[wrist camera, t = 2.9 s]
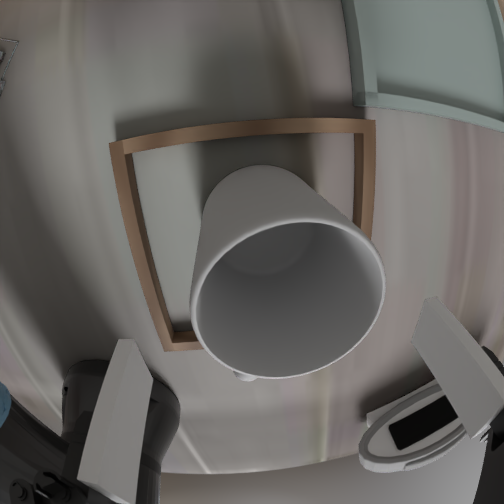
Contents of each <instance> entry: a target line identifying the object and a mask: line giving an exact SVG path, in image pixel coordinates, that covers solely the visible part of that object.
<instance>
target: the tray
mask: <svg viewBox="0 0 504 504" xmlns="http://www.w3.org/2000/svg"><path fill="white" fill-rule="evenodd" d="M341 2H342V7H343V13H344V20H345V26H346V33H347V41H348V49H349V58H350V68H351V79H352V93H353V106H362V107H374V108H384V109H393V110H401V111H408V112H415V113H421V114H427V115H433V116H438V117H443V118H448V119H453V120H457V121H462V122H466V123H470V124H474V125H478V126H481V127H485V128H489V129H492V130H496V131H499V132H502V133H504V22H503V18H502V15H501V11H500V8H499V4H498V1H497V0H341Z"/></svg>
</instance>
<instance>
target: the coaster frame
mask: <svg viewBox="0 0 504 504" xmlns="http://www.w3.org/2000/svg"><path fill="white" fill-rule="evenodd" d="M286 133H354V140H355V180H354V211H353V223H354V224H355V225H356V226H357V227H358V228H360V229H361V230H362V231H363V232H364V233H365V234H366V236H367V237H368V238H369V239H370V240H371V234H372V223H373V210H374V194H375V168H376V125H375V120H367V119H347V118H283V119H263V120H248V121H237V122H226V123H217V124H209V125H201V126H194V127H187V128H181V129H175V130H169V131H163V132H158V133H152V134H147V135H142V136H138V137H133V138H129V139H124V140H120V141H116V142H112V143H109V148H110V154H111V160H112V166H113V172H114V177H115V183H116V188H117V193H118V198H119V202H120V207H121V211H122V216H123V220H124V224H125V228H126V233H127V237H128V240H129V244H130V248H131V252H132V255H133V259H134V263H135V266H136V269H137V273H138V276H139V280H140V283H141V286H142V289H143V292H144V296H145V299H146V302H147V305H148V308H149V311H150V314H151V316H152V319H153V322H154V325H155V328H156V330H157V333H158V336H159V339H160V341H161V344H162V346H163V349H164V352H167V351H184V350H198V349H204V348H203V347H202V345H201V344H200V342H199V340H198V339H197V337H196V334H195V332H194V331H183V332H174V331H173V327H172V324H171V321H170V318H169V315H168V311H167V308H166V305H165V301H164V298H163V295H162V291H161V288H160V284H159V280H158V277H157V273H156V269H155V265H154V261H153V258H152V254H151V249H150V245H149V241H148V237H147V233H146V228H145V224H144V219H143V214H142V209H141V205H140V200H139V194H138V189H137V184H136V178H135V172H134V166H133V160H132V154H131V153H134V152H139V151H144V150H149V149H154V148H160V147H166V146H172V145H178V144H184V143H191V142H198V141H205V140H213V139H222V138H231V137H242V136H254V135H268V134H286Z"/></svg>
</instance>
